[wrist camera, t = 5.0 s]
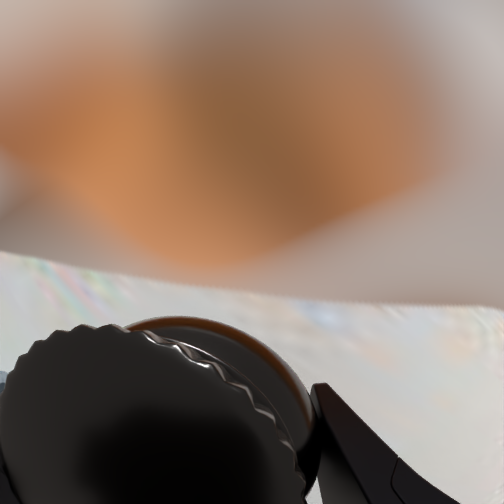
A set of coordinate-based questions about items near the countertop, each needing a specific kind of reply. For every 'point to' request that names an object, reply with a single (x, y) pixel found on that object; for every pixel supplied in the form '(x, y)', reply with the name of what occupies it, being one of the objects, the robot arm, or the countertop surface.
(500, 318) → the countertop surface
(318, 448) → the supplement bottle
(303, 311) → the countertop surface
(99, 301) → the countertop surface
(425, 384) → the countertop surface
